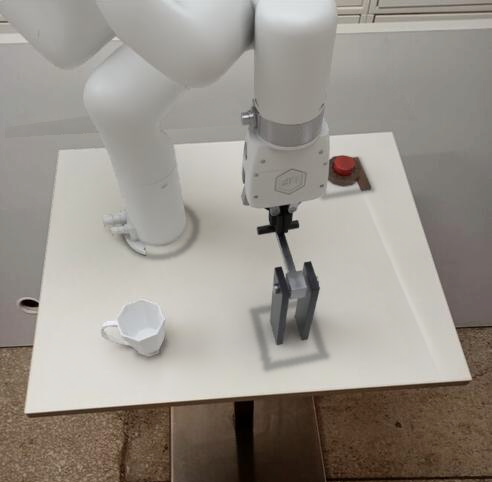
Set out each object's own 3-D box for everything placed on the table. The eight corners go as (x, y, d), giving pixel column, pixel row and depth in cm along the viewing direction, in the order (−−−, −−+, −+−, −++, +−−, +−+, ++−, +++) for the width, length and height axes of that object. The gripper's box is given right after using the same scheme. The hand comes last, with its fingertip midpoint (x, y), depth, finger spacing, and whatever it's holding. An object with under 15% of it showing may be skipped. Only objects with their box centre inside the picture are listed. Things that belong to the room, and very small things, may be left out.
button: (336, 178, 92) (338, 170, 90) (330, 164, 93) (332, 156, 92) (355, 175, 92) (357, 167, 90) (349, 161, 94) (351, 153, 92)
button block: (324, 197, 92) (326, 187, 90) (312, 166, 96) (314, 156, 94) (370, 189, 93) (373, 179, 91) (357, 159, 97) (360, 149, 95)
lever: (256, 233, 72) (256, 222, 70) (296, 226, 73) (298, 215, 71) (276, 302, 67) (276, 293, 65) (319, 294, 67) (321, 284, 65)
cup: (171, 364, 76) (163, 340, 69) (105, 365, 76) (91, 342, 69) (173, 323, 80) (166, 297, 73) (110, 324, 80) (97, 298, 72)
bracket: (253, 311, 81) (254, 252, 67) (307, 301, 82) (319, 241, 68) (267, 367, 76) (272, 316, 62) (324, 356, 77) (341, 303, 63)
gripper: (227, 150, 52) (233, 256, 68) (365, 128, 53) (338, 237, 69) (214, 103, 55) (222, 214, 72) (343, 84, 57) (323, 197, 73)
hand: (279, 225), depth 71 cm, fingers closed
